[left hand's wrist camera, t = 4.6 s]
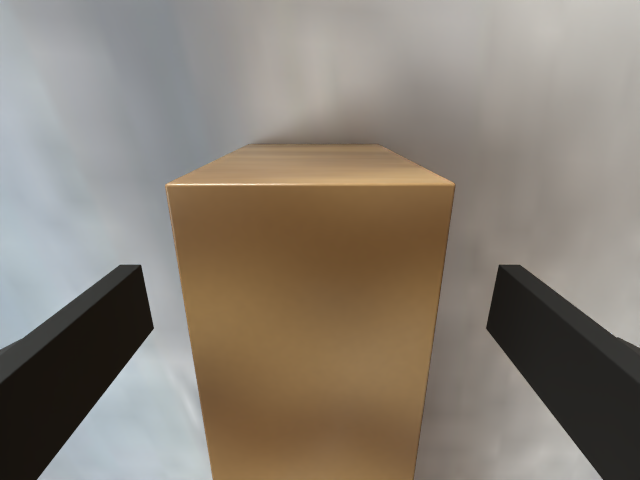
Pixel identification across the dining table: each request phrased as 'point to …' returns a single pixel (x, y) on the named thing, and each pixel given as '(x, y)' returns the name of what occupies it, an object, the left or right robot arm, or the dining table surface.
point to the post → (311, 306)
